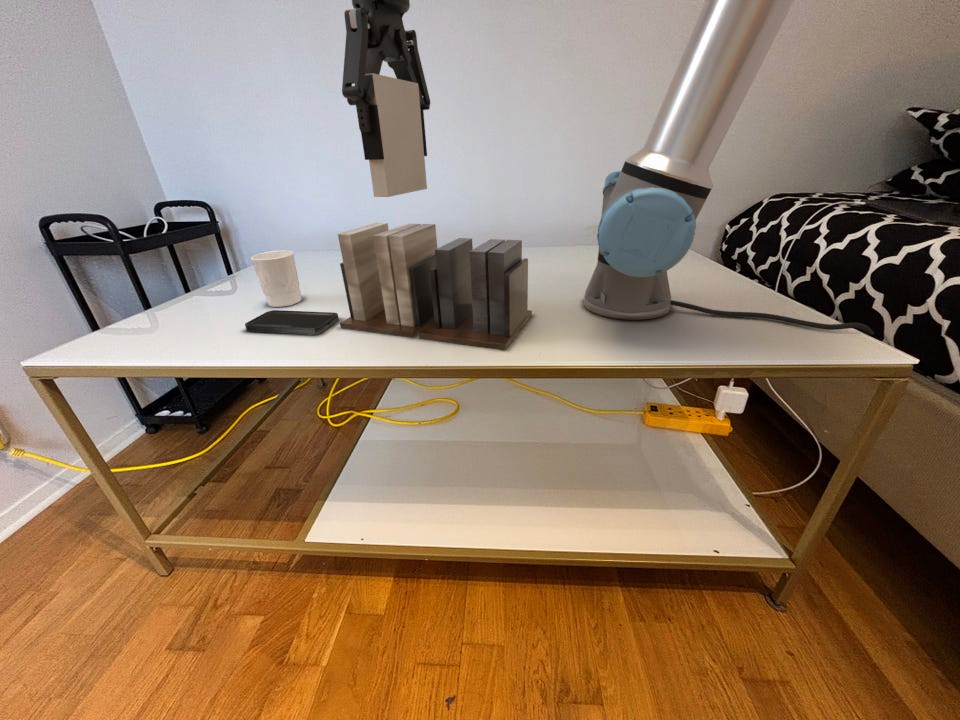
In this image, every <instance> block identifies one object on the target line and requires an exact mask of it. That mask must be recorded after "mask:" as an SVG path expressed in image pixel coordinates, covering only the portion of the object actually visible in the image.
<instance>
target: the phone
mask: <svg viewBox="0 0 960 720" xmlns="http://www.w3.org/2000/svg"><path fill="white" fill-rule="evenodd" d="M339 320H340V318H339V313H337V312H327V311H303V310H283V309H281V310H280V309H272V310H269V311H266V312H264V313H262V314H260V315H258V316H257V317H255V318H253V319H251V320H249V321H247V322H245V323H244V326H245V330H246V332H252V333H253V332H255V333H273V334H289V335H291V334H292V335H310V336H316V335H319V334H322V333H323V332H326V330H328V329H329V328H331V326H333V325H335V324H336V323H337V322H339Z"/></svg>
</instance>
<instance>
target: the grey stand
mask: <svg viewBox="0 0 960 720" xmlns="http://www.w3.org/2000/svg"><path fill="white" fill-rule="evenodd" d="M473 247H474V246H473V238H469V237H467V238H466V237H458V238H456V239H454V240H452V241H450V242H447V243H445V244H444V245H442V246H439V247H437V249H435V258H436V266H435V267H433V268H432V269H430V278H431V288H432V298H433V308H434V318H435V321H434V322H432V323H431V324H430V325H429V326H427V327H426V328H425V329H423V330H422V331H421V332H420V333H419V334H418V338H419V340H421V339H422V340H429V341H436V342H442V343H451V344H457V345H466V346H473V347H478V348H479V347H480V348H487V349H493V350H501V351H506V350H507V349H508V347H509V346H510V345H511V343H512V342H513V341H514V340H515V338H516V337H517V335H519V333H520V332H521V330H522V329H523V328H524V326H525V325H526V323H527V322H528V321H529V320H530V318H531V317H532V315H533V310H531V309H528V306H529V304H528V300H529V299H528V297H529V296H528V295H529V258H526V257H523V240H522V239H506V240H505V239H499V238H497V239H496V238H490V239H489V240H487V241H485V242H483V243H482V244H480V245H478V246H477V247H474V248H473Z"/></svg>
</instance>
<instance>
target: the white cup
mask: <svg viewBox="0 0 960 720" xmlns="http://www.w3.org/2000/svg"><path fill="white" fill-rule="evenodd" d="M250 259H251V262H252V266H253V269H254V272H255V274H256V277H257V279H258V283H259V286H260V288H261V290H262V293H263V294H264V296H265V300H266V302H267V305H268V306H269V307H273V308H283V307H288V306H292V305H295V304H298V303H300V302H301V301H302V299H303V298H302V292H301V289H300V279H299V274H298V269H297V265H296V260H295V254H294V251H291V250H271V251H265V252H261V253H257V254H254V255H252V256H251V257H250Z"/></svg>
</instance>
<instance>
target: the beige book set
mask: <svg viewBox="0 0 960 720" xmlns="http://www.w3.org/2000/svg"><path fill="white" fill-rule="evenodd" d="M436 227H437V226H436V223H407V224H403V225H400V226H397V227H395V228H391V229H389V223H388V222H375V223H371V224H368V225H364V226H360V227H357V228H354V229H350V230H347V231H344V232H340V233H337V238H338V242H339V247H340V252H341V258H342V262H340V264H339V267H340V270H341V276H342V280H343V286H344V290H345V295H346V300H347V305H348V311H349V315H350V316H349V317H347V318H346V319H344V320H342V321H340V322H339V325H340V329H344V330H345V329H346V330H352V331H353V330H355V331H360V332H369V333H375V334H376V333H377V334H383V335H389V336H390V335H391V336H397V337H398V336H399V337H406V338H411V339H413V338H414V339H415V338H416V337H417V336H419V333H420V332H421V331H422V330H423V329H425V328H426V327H427V326H429V325H430V324H431V323H432V322H434V321H435V318H434V308H433V298H432V288H431V278H430V269H432V268H433V267H435V266H436V258H435V249H437V248H438V238H437V229H436Z"/></svg>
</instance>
